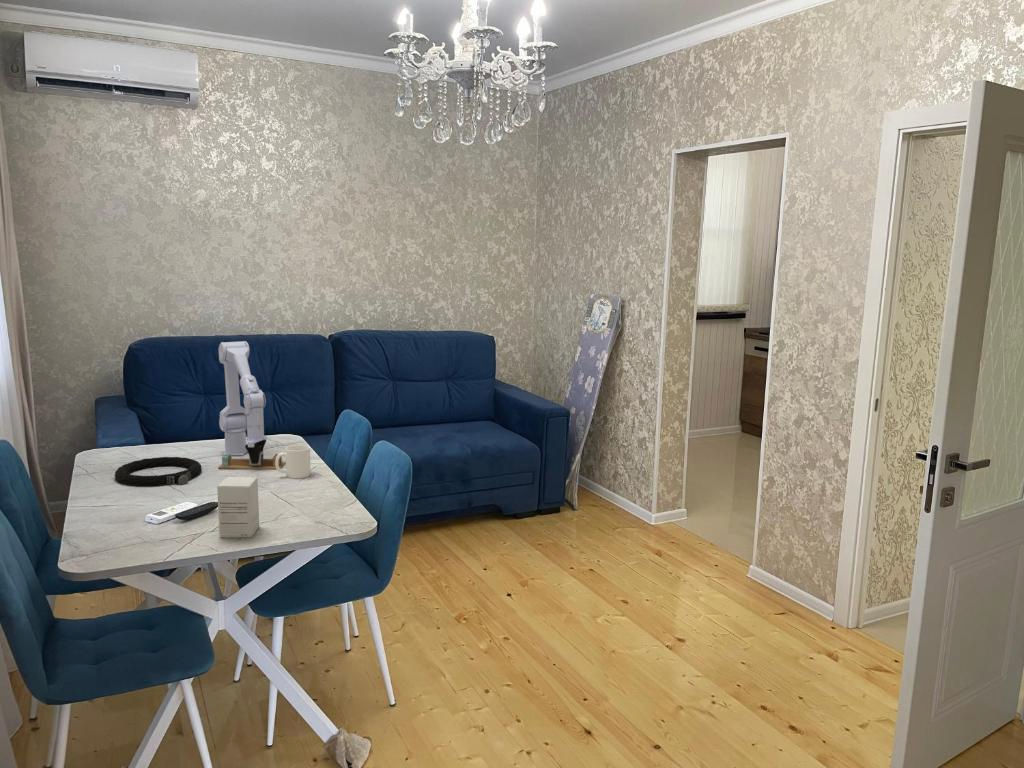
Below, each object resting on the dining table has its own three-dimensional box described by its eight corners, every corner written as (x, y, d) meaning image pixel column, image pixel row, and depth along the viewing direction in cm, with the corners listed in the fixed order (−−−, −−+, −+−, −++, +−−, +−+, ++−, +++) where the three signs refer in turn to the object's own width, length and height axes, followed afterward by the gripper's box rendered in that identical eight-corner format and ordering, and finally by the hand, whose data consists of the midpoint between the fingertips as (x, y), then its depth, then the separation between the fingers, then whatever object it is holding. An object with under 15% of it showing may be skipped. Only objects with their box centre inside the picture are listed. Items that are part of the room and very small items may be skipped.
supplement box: (228, 526, 216) (226, 476, 213) (260, 526, 216) (258, 476, 214) (218, 538, 207) (216, 485, 204) (251, 538, 207) (249, 486, 205)
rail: (224, 463, 278) (224, 452, 277) (285, 463, 280) (285, 452, 279) (218, 469, 270) (217, 458, 270) (280, 469, 272) (280, 458, 271)
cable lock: (175, 451, 280) (221, 466, 262) (176, 461, 281) (221, 477, 263) (98, 466, 258) (142, 483, 241) (99, 476, 259) (143, 495, 241)
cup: (313, 477, 264) (312, 449, 263) (278, 481, 258) (277, 452, 257) (306, 471, 271) (306, 443, 270) (273, 475, 265) (272, 447, 264)
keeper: (252, 462, 277) (252, 450, 276) (263, 462, 277) (263, 450, 277) (249, 465, 273) (249, 453, 272) (260, 465, 273) (260, 453, 272)
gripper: (261, 430, 266) (262, 467, 268) (271, 421, 280) (272, 456, 282) (241, 429, 265) (242, 467, 268) (251, 420, 280) (252, 456, 282)
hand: (256, 461), depth 275 cm, fingers closed on keeper, 4 cm apart
